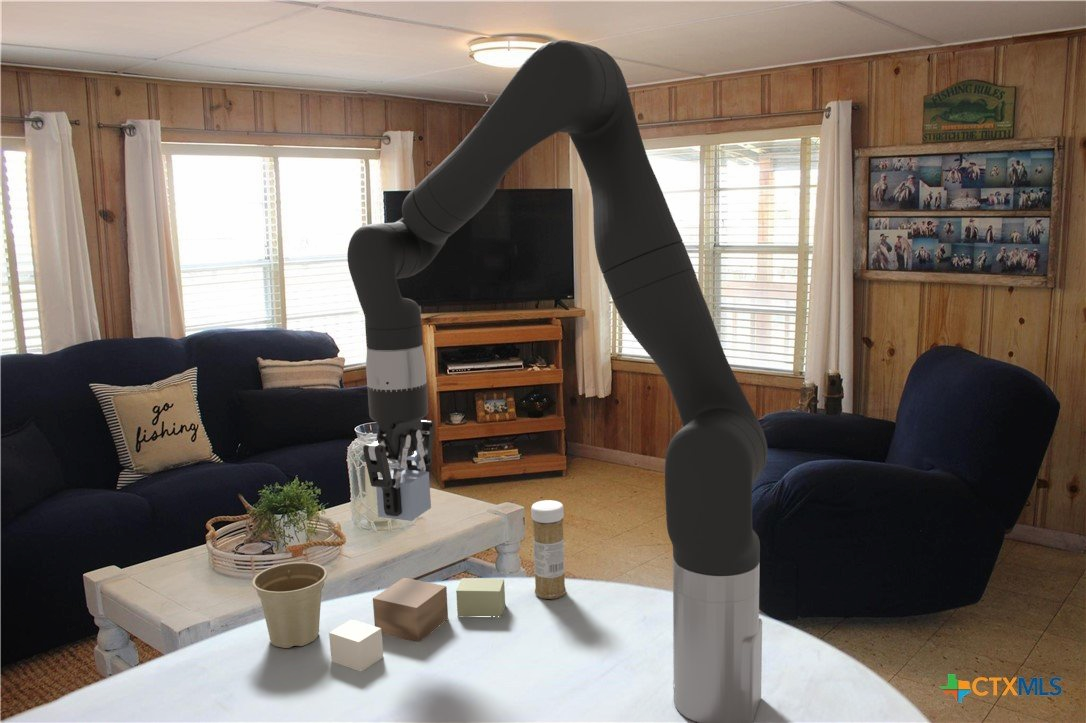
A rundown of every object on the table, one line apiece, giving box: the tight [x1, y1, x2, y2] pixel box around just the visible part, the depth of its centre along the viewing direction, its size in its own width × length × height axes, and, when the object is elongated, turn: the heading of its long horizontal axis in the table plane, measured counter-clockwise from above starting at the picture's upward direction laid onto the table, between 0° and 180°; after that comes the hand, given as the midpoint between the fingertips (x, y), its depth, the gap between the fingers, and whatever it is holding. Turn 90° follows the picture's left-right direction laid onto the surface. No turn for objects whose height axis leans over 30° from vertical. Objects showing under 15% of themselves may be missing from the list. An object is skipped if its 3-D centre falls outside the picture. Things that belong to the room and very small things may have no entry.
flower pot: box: [252, 561, 328, 649], centre depth 118 cm, size 9×9×9 cm
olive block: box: [455, 577, 506, 618], centre depth 124 cm, size 6×4×4 cm, turn 84°
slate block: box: [375, 469, 432, 522], centre depth 117 cm, size 5×5×5 cm
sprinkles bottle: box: [530, 499, 567, 600], centre depth 128 cm, size 5×5×13 cm
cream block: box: [328, 618, 384, 672], centre depth 112 cm, size 5×4×4 cm
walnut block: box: [372, 577, 449, 644], centre depth 120 cm, size 7×7×5 cm
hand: (404, 507), depth 118 cm, fingers closed on slate block, 5 cm apart
